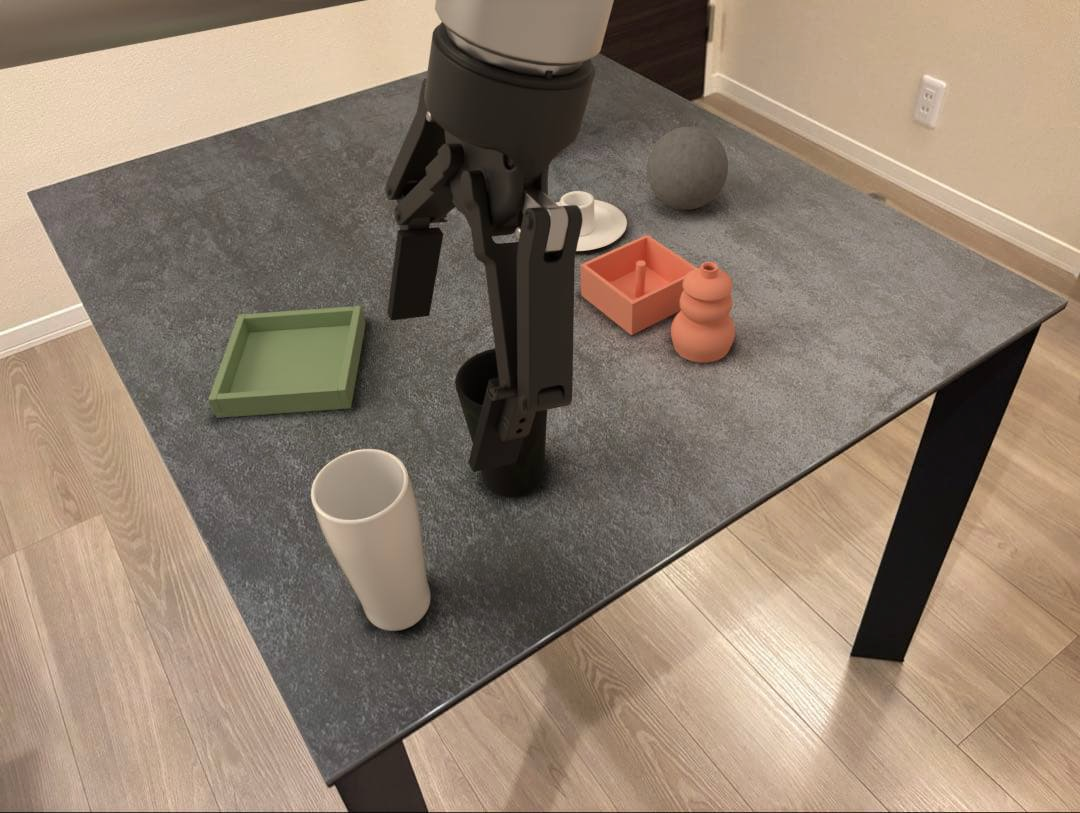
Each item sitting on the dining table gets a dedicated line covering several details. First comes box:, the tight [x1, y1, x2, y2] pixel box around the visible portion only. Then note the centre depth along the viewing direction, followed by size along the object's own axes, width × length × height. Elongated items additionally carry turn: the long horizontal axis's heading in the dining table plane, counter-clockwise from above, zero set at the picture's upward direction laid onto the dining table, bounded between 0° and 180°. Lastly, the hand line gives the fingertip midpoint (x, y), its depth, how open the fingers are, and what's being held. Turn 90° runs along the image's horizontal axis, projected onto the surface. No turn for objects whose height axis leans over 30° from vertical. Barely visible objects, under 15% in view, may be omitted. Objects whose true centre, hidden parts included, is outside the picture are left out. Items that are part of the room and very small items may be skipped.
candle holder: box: [555, 190, 628, 252], centre depth 103 cm, size 12×12×4 cm
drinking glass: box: [310, 448, 432, 632], centre depth 61 cm, size 7×7×15 cm
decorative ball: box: [646, 126, 729, 211], centre depth 103 cm, size 10×10×10 cm
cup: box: [454, 347, 548, 499], centre depth 71 cm, size 8×8×12 cm
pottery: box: [579, 234, 736, 364], centre depth 87 cm, size 18×10×10 cm, turn 34°
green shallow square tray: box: [207, 305, 367, 419], centre depth 87 cm, size 14×14×3 cm
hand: (446, 383), depth 51 cm, fingers open, 13 cm apart
